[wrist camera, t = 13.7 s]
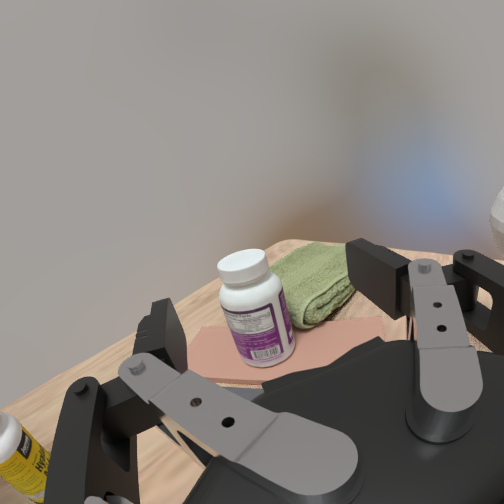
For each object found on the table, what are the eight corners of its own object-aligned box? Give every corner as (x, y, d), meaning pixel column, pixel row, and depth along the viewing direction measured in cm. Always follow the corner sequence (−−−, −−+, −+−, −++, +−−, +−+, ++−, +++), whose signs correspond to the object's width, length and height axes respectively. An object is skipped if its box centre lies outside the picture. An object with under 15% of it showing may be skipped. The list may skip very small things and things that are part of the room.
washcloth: (386, 263, 36) (385, 241, 35) (311, 340, 26) (306, 312, 25) (312, 254, 46) (308, 235, 45) (227, 309, 36) (220, 286, 35)
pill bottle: (261, 329, 30) (237, 244, 27) (305, 338, 27) (286, 245, 23) (229, 361, 26) (195, 271, 23) (275, 376, 23) (246, 276, 20)
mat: (151, 396, 24) (148, 392, 24) (196, 330, 34) (194, 326, 34) (403, 407, 17) (404, 402, 16) (391, 319, 26) (391, 314, 26)
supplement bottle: (79, 497, 13) (-8, 419, 9) (38, 516, 10) (-50, 442, 6) (64, 456, 17) (-4, 379, 13) (28, 475, 14) (-43, 402, 10)
